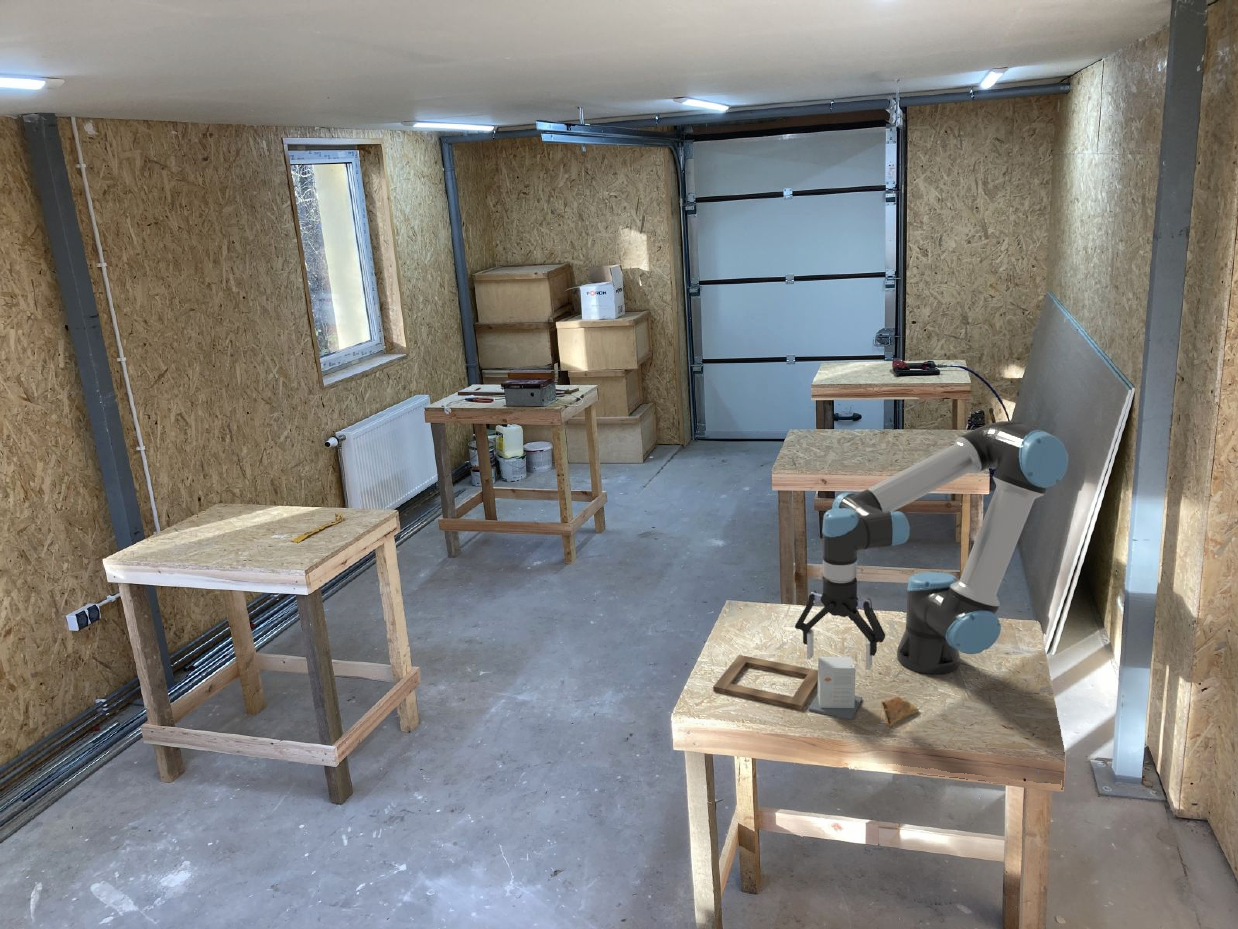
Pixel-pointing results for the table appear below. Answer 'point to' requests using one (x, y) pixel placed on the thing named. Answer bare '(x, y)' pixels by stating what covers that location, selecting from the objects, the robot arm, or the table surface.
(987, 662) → the table surface
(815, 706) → the pad
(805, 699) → the wooden picture frame
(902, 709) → the shard
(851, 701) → the small box
